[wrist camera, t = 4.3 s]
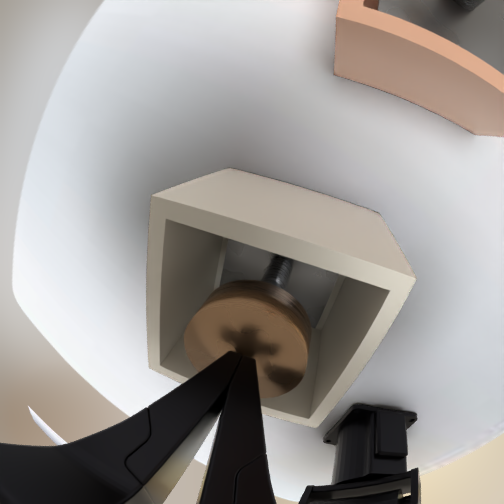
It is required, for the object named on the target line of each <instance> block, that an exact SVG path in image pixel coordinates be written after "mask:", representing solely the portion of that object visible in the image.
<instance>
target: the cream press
mask: <svg viewBox="0 0 504 504" xmlns="http://www.w3.org/2000/svg"><path fill="white" fill-rule="evenodd" d="M228 239H232V240H235V241H238V242H241V243H244V244H248V245H251V246H254V247H257V248H260V249H263V250H266V251H269V252H273V253H276V254H279V255H282V256H285V257H288V258H291V259H294V260H298V261H301V262H304V263H307V264H310V265H313V266H316V267H319V268H322V269H325V270H329V271H332V272H335V273H338V274H339V276H338V278H337V280H336V283H335V285H334V288H333V290H332V292H331V295H330V297H329V299H328V302H327V304H326V306H325V308H324V311H323V313H322V315H321V317H320V319H319V322H318V324H317V326H316V328H312V327H311V329H312V333H311V342H310V348H309V354H308V360H307V366H306V371H305V375H304V377H303V379H302V380H301V382H300V383H299V384H298V385H297V386H296V387H295V388H294V389H292V390H291V391H289V392H287V393H285V394H283V395H280V396H277V397H272V398H260V401H261V410H262V414H265V415H268V416H271V417H275V418H278V419H282V420H285V421H289V422H293V423H297V424H301V425H305V426H309V427H313V428H317V427H318V426H319V425H320V424H321V423H322V421H323V420H324V419H325V418H326V417H327V416H328V414H329V413H330V412H331V411H332V409H333V408H334V407H335V406H336V405H337V403H338V402H339V401H340V399H341V398H342V397H343V396H344V394H345V393H346V392H347V390H348V389H349V388H350V386H351V385H352V384H353V382H354V381H355V380H356V378H357V377H358V375H359V374H360V373H361V371H362V370H363V368H364V367H365V365H366V364H367V363H368V361H369V360H370V358H371V357H372V355H373V354H374V352H375V351H376V349H377V348H378V346H379V344H380V343H381V341H382V340H383V338H384V336H385V335H386V333H387V332H388V330H389V328H390V327H391V325H392V323H393V322H394V320H395V318H396V316H397V315H398V313H399V311H400V309H401V308H402V306H403V304H404V302H405V300H406V299H407V297H408V295H409V293H410V291H411V289H412V287H413V285H414V283H415V281H416V279H417V278H416V276H415V274H414V272H413V270H412V268H411V266H410V265H409V263H408V261H407V259H406V257H405V256H404V254H403V252H402V250H401V248H400V247H399V245H398V243H397V241H396V240H395V238H394V236H393V235H392V233H391V231H390V230H389V228H388V226H387V225H386V223H385V222H384V220H383V218H382V217H381V215H380V214H379V213H377V212H375V211H372V210H369V209H366V208H364V207H361V206H358V205H355V204H352V203H349V202H346V201H343V200H340V199H337V198H334V197H331V196H328V195H325V194H322V193H319V192H315V191H312V190H309V189H306V188H302V187H299V186H296V185H292V184H289V183H285V182H282V181H278V180H275V179H271V178H268V177H264V176H260V175H256V174H253V173H249V172H245V171H241V170H237V169H233V168H226V169H223V170H220V171H217V172H214V173H211V174H208V175H205V176H202V177H199V178H196V179H193V180H191V181H188V182H185V183H182V184H179V185H177V186H174V187H171V188H169V189H166V190H163V191H161V192H158V193H155V194H153V195H151V204H150V215H149V229H148V247H147V278H146V315H147V345H148V362H149V368H150V369H152V370H154V371H156V372H158V373H160V374H162V375H164V376H167V377H169V378H171V379H173V380H175V381H177V382H180V383H182V384H183V383H184V382H186V381H187V380H188V379H190V378H191V377H193V376H194V375H196V374H197V373H199V372H198V371H197V370H196V368H195V367H194V366H193V364H192V363H191V361H190V360H189V358H188V356H187V353H186V350H185V346H184V333H185V330H186V327H187V325H188V324H189V322H190V321H191V319H192V318H193V317H194V315H195V314H196V313H197V311H198V310H199V309H200V307H201V306H202V305H203V303H204V302H205V301H206V299H207V298H208V297H209V295H210V294H211V293H212V292H213V291H214V290H215V289H217V288H218V287H219V286H220V281H221V275H222V270H223V265H224V260H225V255H226V249H227V244H228Z"/></svg>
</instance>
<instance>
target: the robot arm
mask: <svg viewBox="0 0 504 504" xmlns="http://www.w3.org/2000/svg"><path fill="white" fill-rule="evenodd" d="M220 413H221V414H220ZM219 415H220V418H219V421H218V425H217V429H216V433H215V436H214V440H213V444H212V448H211V451H210V455H209V459H208V463H207V466H206V470H205V474H204V477H203V481H202V485H201V488H200V492H199V496H198V499H197V503H196V504H276V500H275V497H274V493H273V489H272V485H271V480H270V474H269V468H268V460H267V455H266V444H265V436H264V427H263V418H262V410H261V401H260V392H259V383H258V374H257V365H256V360H255V359H254V358H251V357H249V356H246V355H244V356H242V355H241V354H240V353H237V352H234V351H228V352H227V353H225V354H224V355H222V356H221V357H220V358H218V359H217V360H216V361H214V362H213V363H211V364H210V365H209V366H207V367H206V368H204V369H203V370H201V371H200V372H199V373H197V374H196V375H194V376H193V377H191V378H190V379H188V380H187V381H186V382H184V383H183V384H181V385H180V386H178V387H177V388H175V389H174V390H172V391H171V392H169V393H168V394H166V395H165V396H163V397H162V398H160V399H159V400H157V401H155V402H154V403H152V404H151V405H149V406H148V408H147V407H146V408H144V409H143V410H141V411H140V412H138V413H136V414H135V415H133V416H131V417H129V418H128V419H126V420H124V421H122V422H120V423H118V424H116V425H114V426H111V427H109V428H107V429H105V430H102V431H100V432H97V433H95V434H92V435H90V436H87V437H84V438H82V439H79V440H76V441H74V442H71V443H67V444H63V445H58V446H31V445H16V444H6V443H0V504H163V502H164V501H165V500H166V498H167V497H168V495H169V494H170V492H171V491H172V489H173V488H174V487H175V485H176V484H177V482H178V481H179V479H180V478H181V476H182V475H183V473H184V472H185V470H186V468H187V467H188V465H189V464H190V462H191V461H192V459H193V458H194V456H195V455H196V453H197V451H198V450H199V448H200V447H201V445H202V444H203V442H204V440H205V439H206V437H207V435H208V434H209V432H210V431H211V429H212V427H213V426H214V424H215V422H216V421H217V419H218V417H219ZM416 421H417V414H414V413H407V412H400V411H393V410H387V409H381V408H376V407H370V406H365V405H360V404H357V405H353V406H352V407H351V408H350V409H349V410H348V412H347V413H346V414H345V415H344V416H343V417H342V418H341V419H340V421H339V422H338V423H337V424H336V425H335V426H334V427H333V428H332V429H331V430H330V431H329V432H328V433H327V434H326V435H325V436H324V439H323V442H324V443H327V444H333V445H336V454H335V462H334V469H333V476H332V483H331V485H325V486H314V485H310V486H307V487H306V489H305V491H304V493H303V495H302V497H301V499H300V501H299V504H421V483H420V476H419V470H418V468H415V469H411V471H408V472H407V460H406V456H407V455H408V445H407V432H406V430H407V429H408V428H409V427H410V426H411V425H412V424H413V423H415V422H416ZM410 492H411V495H409V496H405V497H403V494H406V493H410Z"/></svg>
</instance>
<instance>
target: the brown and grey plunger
mask: <svg viewBox="0 0 504 504" xmlns="http://www.w3.org/2000/svg"><path fill="white" fill-rule="evenodd" d="M377 11H380V12H383V13H386V14H389V15H392V16H395V17H397V18H400V19H403V20H405V21H408V22H410V23H413V24H415V25H417V26H420V27H422V28H424V29H426V30H428V31H431V32H433V33H435V34H437V35H439V36H441V37H443V38H445V39H447V40H449V41H451V42H452V43H454V44H456V45H458V46H460V47H461V48H463V49H465V50H467V51H468V52H470V53H472V54H473V55H475V56H477V57H478V58H480V59H481V60H483V61H484V62H486V63H487V64H489V65H490V66H492V67H493V68H495V69H496V70H498V71H499V72H500V73H502V74H503V75H504V0H378V6H377Z"/></svg>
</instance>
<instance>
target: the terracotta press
mask: <svg viewBox="0 0 504 504" xmlns="http://www.w3.org/2000/svg"><path fill="white" fill-rule="evenodd" d="M377 6H378V0H339V5H338V10H337V14H336V37H335V60H334V75H336V76H339V77H343V78H346V79H349V80H353V81H356V82H359V83H362V84H365V85H368V86H371V87H374V88H377V89H379V90H382V91H385V92H387V93H390V94H393V95H395V96H398V97H400V98H403V99H405V100H407V101H410V102H412V103H414V104H417V105H419V106H421V107H423V108H425V109H427V110H430V111H432V112H434V113H436V114H438V115H440V116H442V117H444V118H446V119H448V120H450V121H451V122H453V123H455V124H457V125H459V126H461V127H462V128H464V129H466V130H468V131H469V132H471V133H473V134H474V135H483V136H498V137H504V75H503V74H502V73H500V72H499V71H498V70H496V69H495V68H493V67H492V66H490V65H489V64H487V63H486V62H484V61H483V60H481V59H480V58H478V57H477V56H475V55H473V54H472V53H470V52H468V51H467V50H465V49H463V48H461V47H460V46H458V45H456V44H454V43H452V42H451V41H449V40H447V39H445V38H443V37H441V36H439V35H437V34H435V33H433V32H431V31H428V30H426V29H424V28H422V27H420V26H417V25H415V24H413V23H410V22H408V21H405V20H403V19H400V18H397V17H395V16H392V15H389V14H386V13H383V12H380V11H377Z"/></svg>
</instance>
